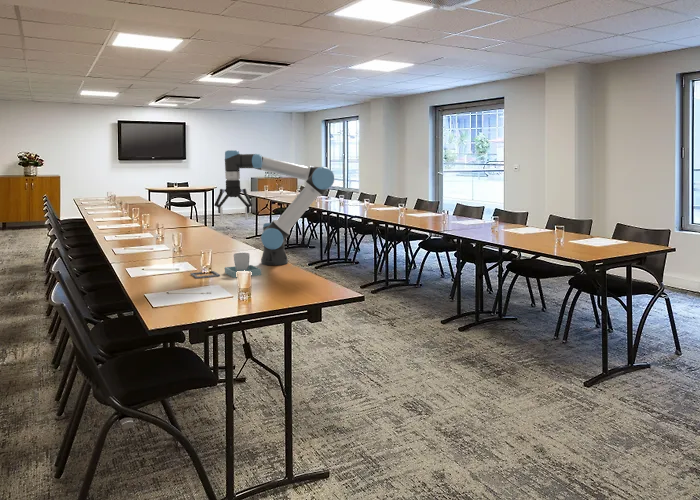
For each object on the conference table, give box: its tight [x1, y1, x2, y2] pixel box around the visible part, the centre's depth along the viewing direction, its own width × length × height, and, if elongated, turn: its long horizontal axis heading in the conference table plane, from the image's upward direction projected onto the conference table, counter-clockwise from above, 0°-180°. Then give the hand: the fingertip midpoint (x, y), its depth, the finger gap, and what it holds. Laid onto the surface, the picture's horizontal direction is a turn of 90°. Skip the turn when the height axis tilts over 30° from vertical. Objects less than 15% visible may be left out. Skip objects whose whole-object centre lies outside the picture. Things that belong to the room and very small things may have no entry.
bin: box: [224, 264, 262, 279], centre depth 302 cm, size 15×15×3 cm
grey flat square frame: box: [190, 270, 221, 279], centre depth 299 cm, size 12×12×1 cm
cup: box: [233, 252, 250, 271], centre depth 302 cm, size 8×8×10 cm
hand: (234, 219), depth 315 cm, fingers open, 13 cm apart
